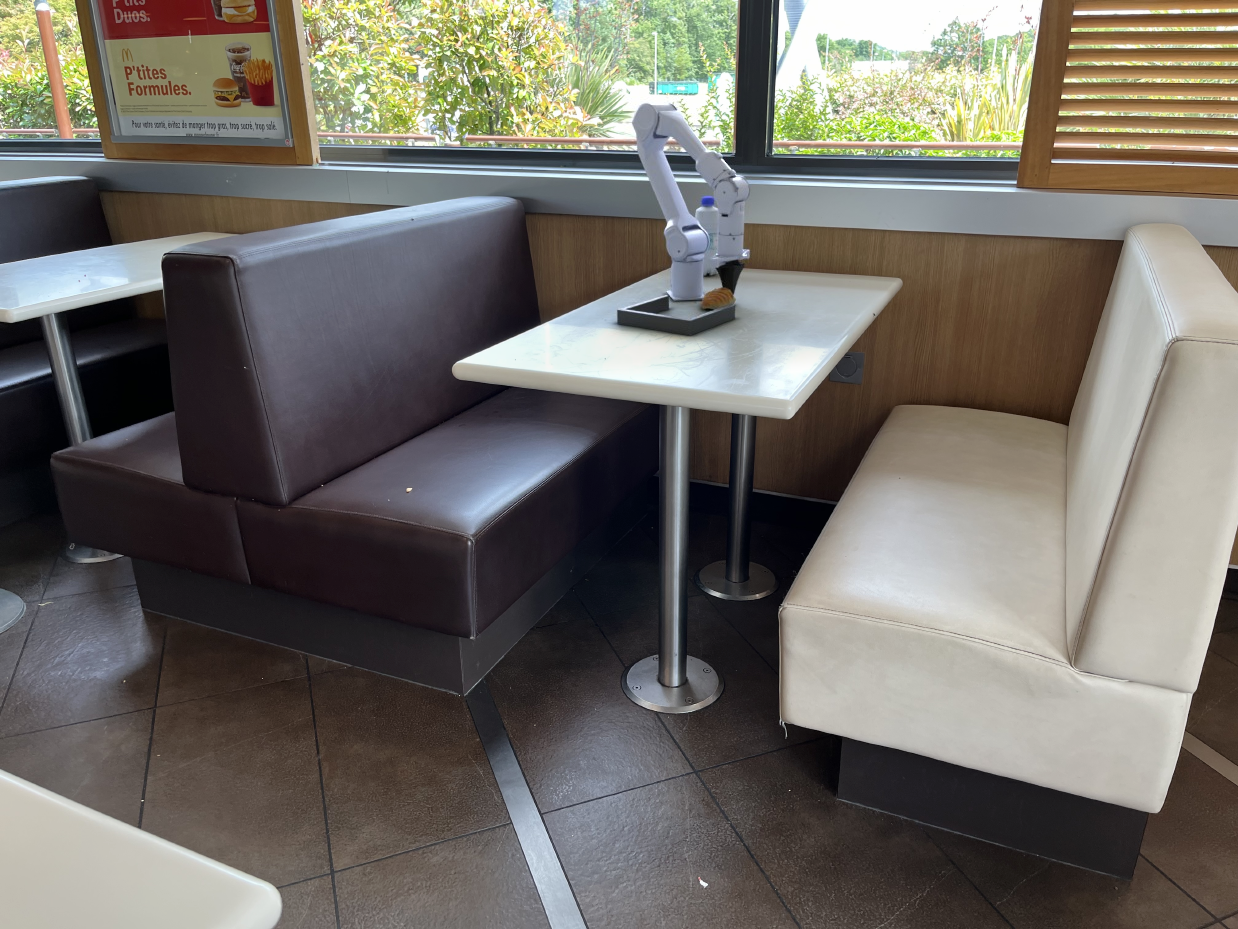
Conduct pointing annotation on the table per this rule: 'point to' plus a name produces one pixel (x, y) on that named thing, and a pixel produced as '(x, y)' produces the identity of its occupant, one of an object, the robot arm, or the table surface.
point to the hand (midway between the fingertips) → (728, 294)
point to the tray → (647, 318)
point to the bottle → (709, 230)
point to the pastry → (718, 298)
